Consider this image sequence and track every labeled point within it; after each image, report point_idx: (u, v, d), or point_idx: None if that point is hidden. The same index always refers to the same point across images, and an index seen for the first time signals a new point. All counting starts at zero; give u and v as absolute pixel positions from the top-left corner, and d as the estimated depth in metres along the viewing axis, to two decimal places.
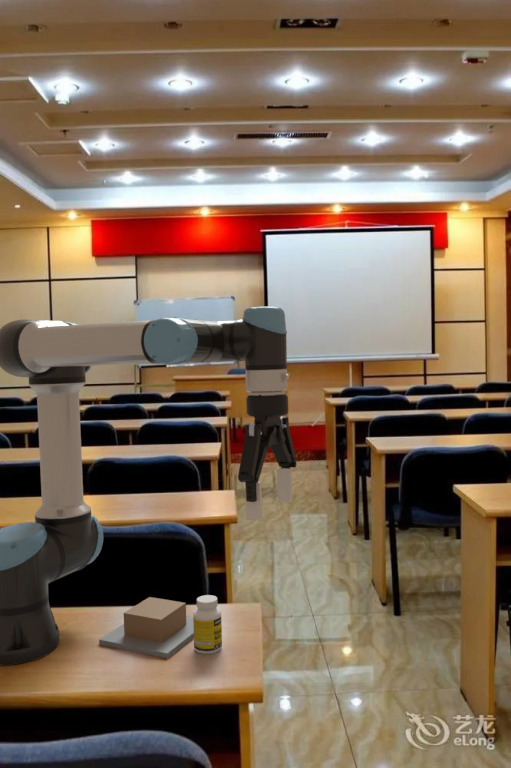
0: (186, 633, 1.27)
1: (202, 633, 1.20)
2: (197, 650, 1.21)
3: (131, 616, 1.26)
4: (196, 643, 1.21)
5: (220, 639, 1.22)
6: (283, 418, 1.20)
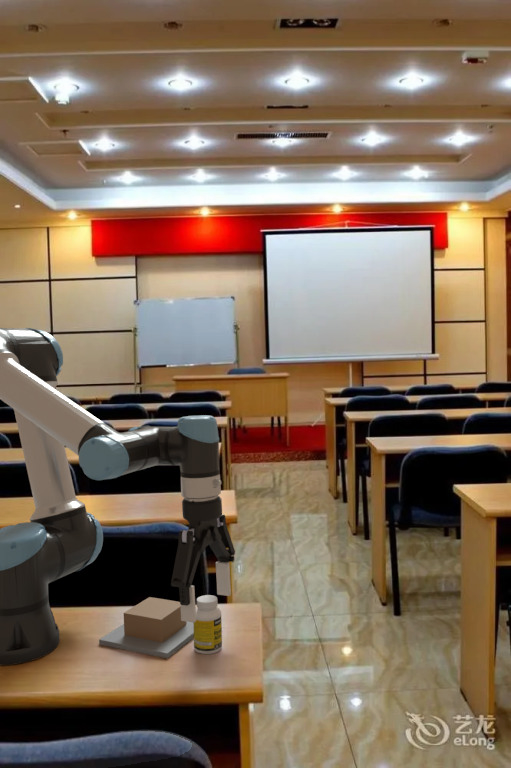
0: (186, 633, 1.27)
1: (202, 633, 1.20)
2: (197, 650, 1.21)
3: (131, 616, 1.26)
4: (196, 643, 1.21)
5: (220, 639, 1.22)
6: (220, 516, 1.26)
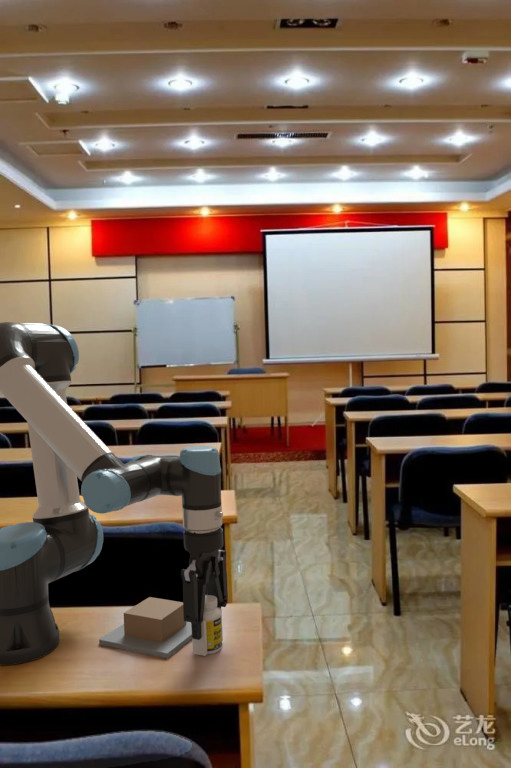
0: (186, 633, 1.27)
1: None
2: None
3: (131, 616, 1.26)
4: None
5: (220, 639, 1.22)
6: (221, 551, 1.27)
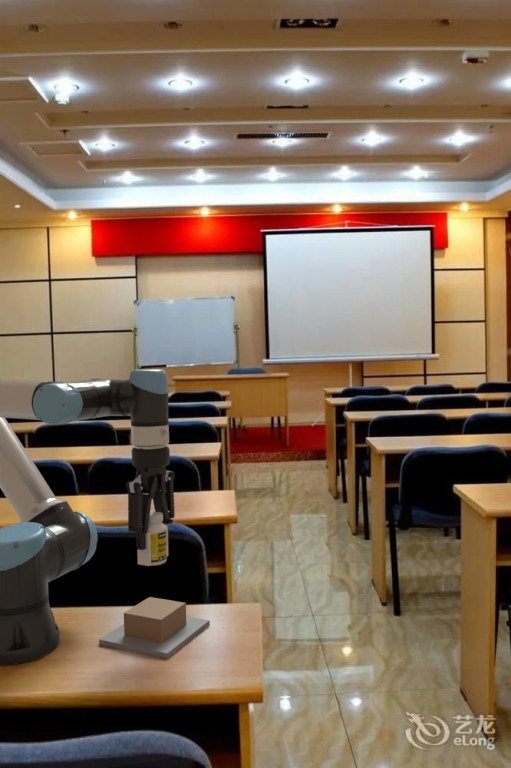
0: (186, 633, 1.27)
1: None
2: None
3: (131, 616, 1.26)
4: None
5: (164, 552, 1.28)
6: (169, 472, 1.33)
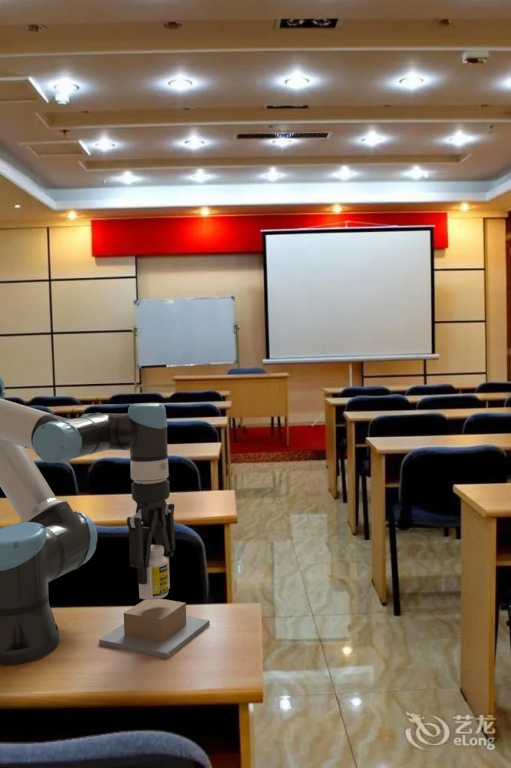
0: (186, 633, 1.27)
1: None
2: None
3: (131, 616, 1.26)
4: None
5: (166, 585, 1.28)
6: (169, 504, 1.34)
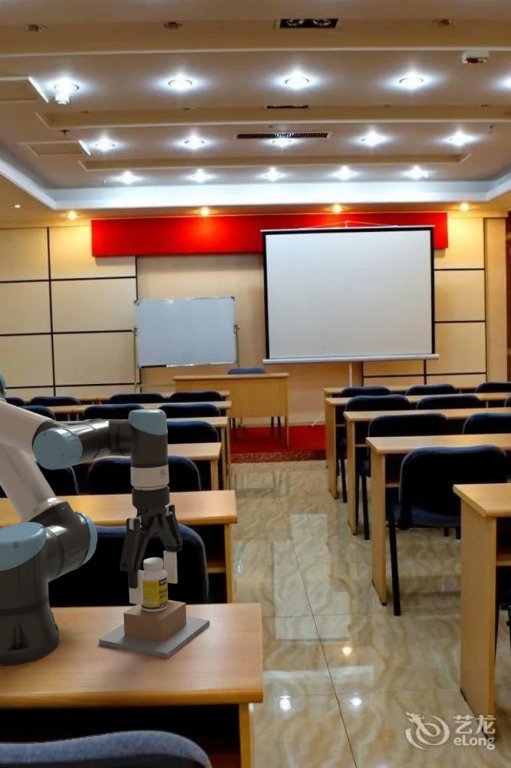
0: (186, 633, 1.27)
1: (148, 592, 1.27)
2: (143, 609, 1.28)
3: (131, 616, 1.26)
4: None
5: (165, 598, 1.28)
6: (169, 506, 1.34)
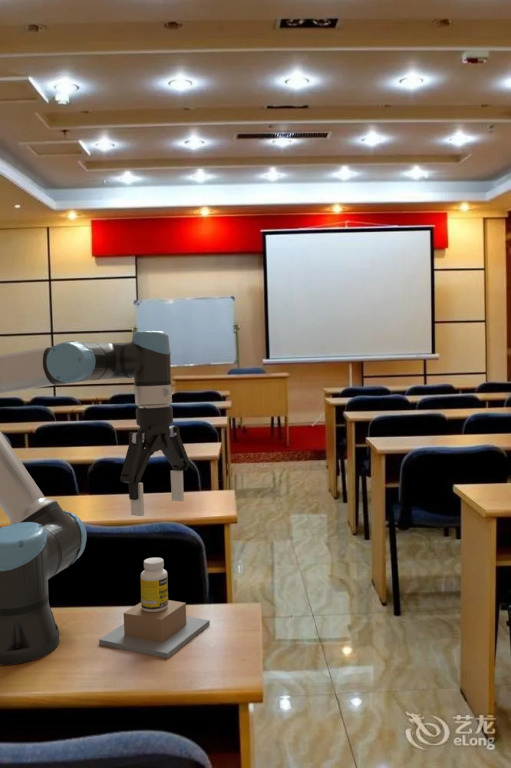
0: (186, 633, 1.27)
1: (148, 592, 1.27)
2: (143, 609, 1.28)
3: (131, 616, 1.26)
4: (142, 602, 1.28)
5: (166, 598, 1.28)
6: (174, 427, 1.37)
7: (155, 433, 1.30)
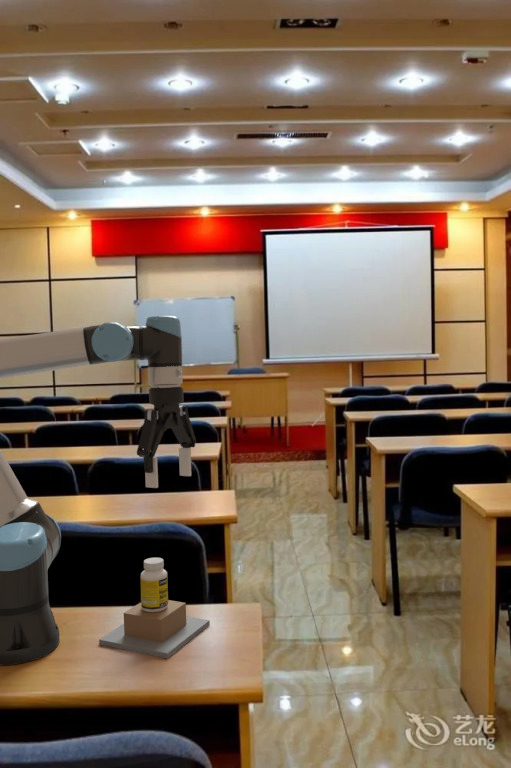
0: (186, 633, 1.27)
1: (148, 592, 1.27)
2: (143, 609, 1.28)
3: (131, 616, 1.26)
4: (142, 602, 1.28)
5: (166, 598, 1.28)
6: (183, 406, 1.46)
7: (167, 411, 1.39)
